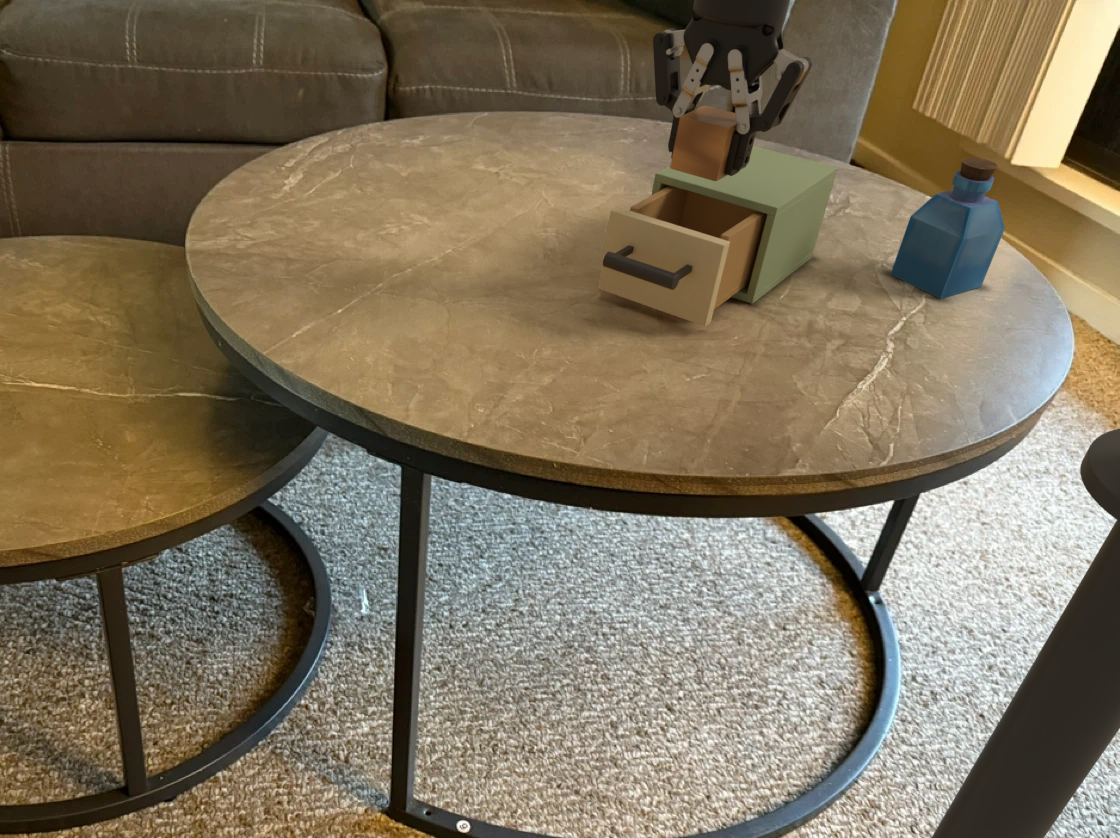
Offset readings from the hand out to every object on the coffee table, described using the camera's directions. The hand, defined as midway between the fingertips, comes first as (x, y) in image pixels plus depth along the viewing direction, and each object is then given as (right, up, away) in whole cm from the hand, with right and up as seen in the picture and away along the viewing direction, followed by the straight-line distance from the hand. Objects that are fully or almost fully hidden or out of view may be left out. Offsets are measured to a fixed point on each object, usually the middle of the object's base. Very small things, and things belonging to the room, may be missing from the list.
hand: (705, 164), depth 95 cm
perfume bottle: (+27, -8, +13) cm, 31 cm away
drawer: (-1, -10, +7) cm, 12 cm away
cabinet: (+6, -5, +15) cm, 17 cm away
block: (0, 0, 0) cm, 0 cm away
